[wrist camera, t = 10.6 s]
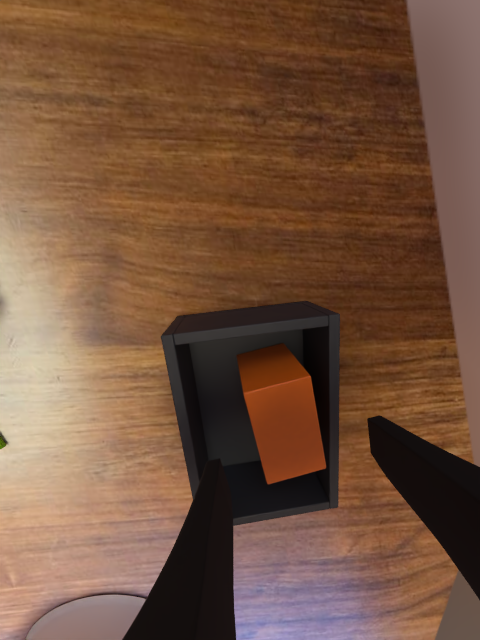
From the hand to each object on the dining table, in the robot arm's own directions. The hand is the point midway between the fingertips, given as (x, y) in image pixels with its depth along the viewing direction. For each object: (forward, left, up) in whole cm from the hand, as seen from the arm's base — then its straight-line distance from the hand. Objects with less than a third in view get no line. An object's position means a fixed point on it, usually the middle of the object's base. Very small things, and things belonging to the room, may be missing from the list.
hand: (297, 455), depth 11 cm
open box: (+1, +1, -7) cm, 7 cm away
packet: (0, 0, -6) cm, 6 cm away
